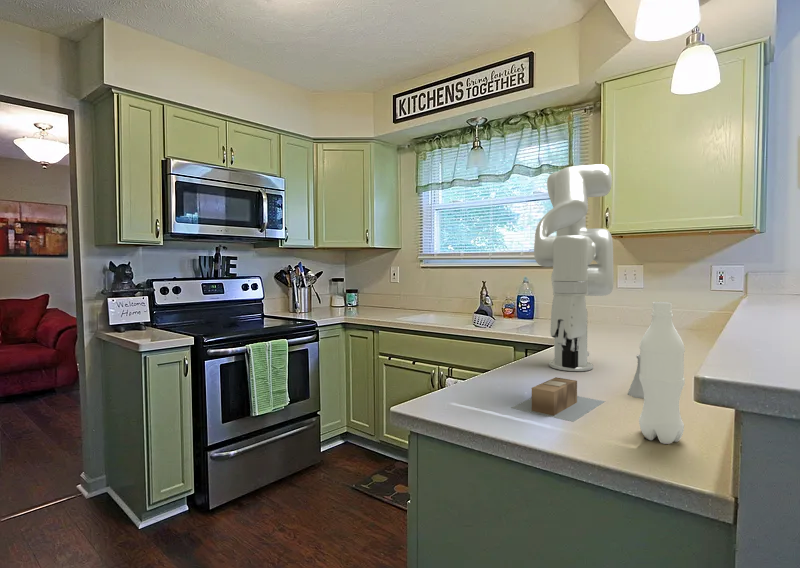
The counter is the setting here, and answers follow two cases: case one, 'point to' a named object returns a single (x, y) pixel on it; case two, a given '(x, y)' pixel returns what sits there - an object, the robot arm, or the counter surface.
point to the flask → (636, 384)
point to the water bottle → (662, 377)
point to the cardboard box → (554, 396)
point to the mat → (569, 413)
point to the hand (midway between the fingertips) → (570, 367)
